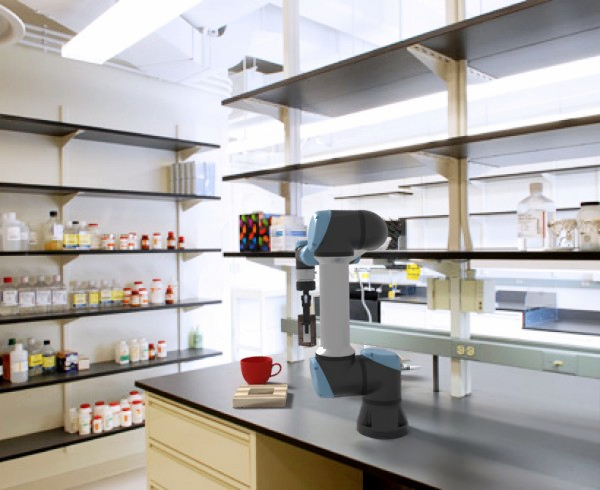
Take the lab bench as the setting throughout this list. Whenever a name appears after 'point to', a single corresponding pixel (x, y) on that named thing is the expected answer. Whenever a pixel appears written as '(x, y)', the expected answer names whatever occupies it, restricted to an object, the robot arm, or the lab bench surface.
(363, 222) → the robot arm
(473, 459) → the lab bench surface
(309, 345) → the box
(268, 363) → the ceramic cup
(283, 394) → the shallow beige tray
